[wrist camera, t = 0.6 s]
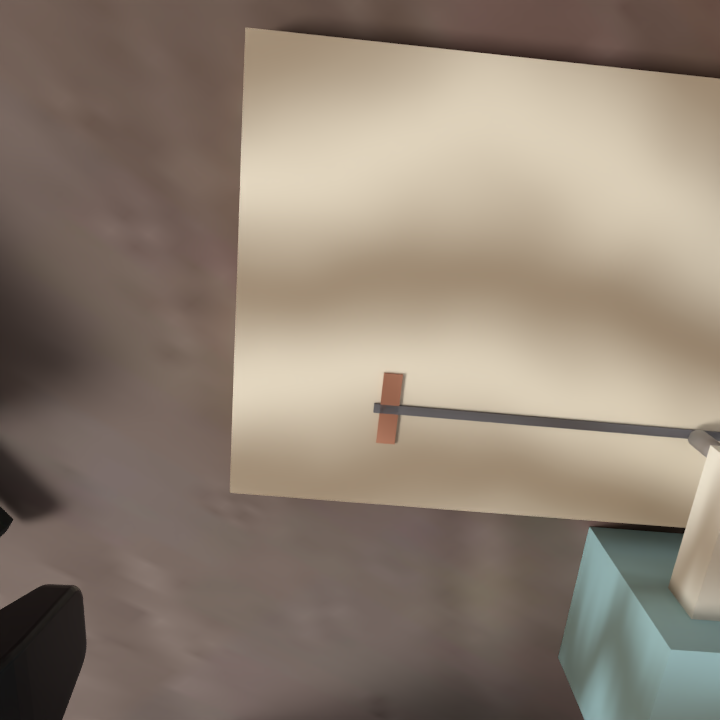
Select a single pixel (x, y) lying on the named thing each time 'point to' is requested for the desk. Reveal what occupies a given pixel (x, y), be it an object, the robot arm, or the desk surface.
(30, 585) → the desk surface
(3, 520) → the handheld radio
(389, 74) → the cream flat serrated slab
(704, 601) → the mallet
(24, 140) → the desk surface
